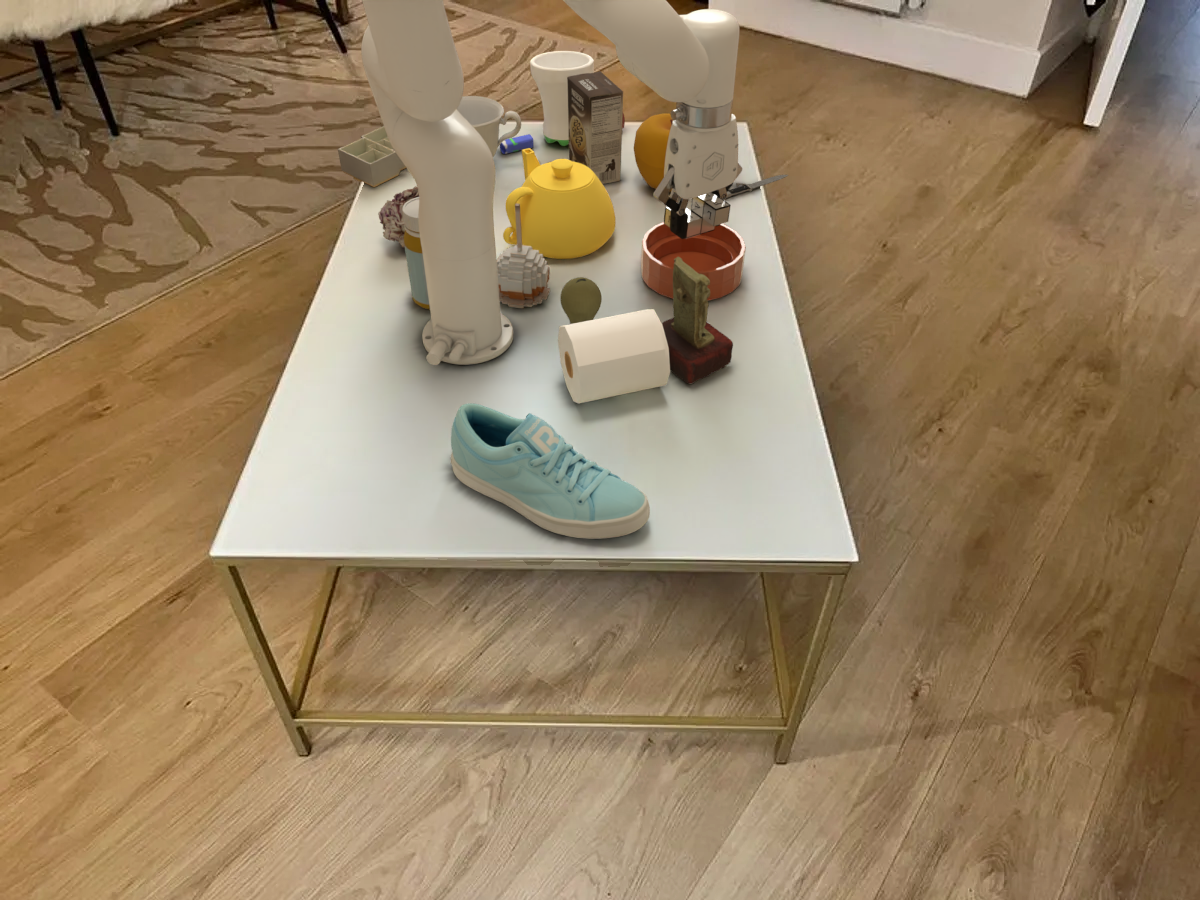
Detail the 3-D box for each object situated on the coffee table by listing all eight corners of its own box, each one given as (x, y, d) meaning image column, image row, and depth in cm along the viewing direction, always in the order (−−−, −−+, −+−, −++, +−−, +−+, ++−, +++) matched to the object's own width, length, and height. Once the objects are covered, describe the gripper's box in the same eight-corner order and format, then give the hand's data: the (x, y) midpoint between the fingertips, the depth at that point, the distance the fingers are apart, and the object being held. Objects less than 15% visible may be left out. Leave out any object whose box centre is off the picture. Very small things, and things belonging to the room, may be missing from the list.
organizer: (331, 147, 174) (336, 170, 177) (369, 165, 169) (373, 188, 172) (457, 90, 190) (459, 112, 193) (494, 105, 186) (496, 127, 189)
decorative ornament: (554, 284, 151) (551, 193, 141) (542, 313, 145) (538, 221, 135) (503, 278, 152) (497, 188, 142) (490, 307, 146) (482, 215, 136)
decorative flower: (487, 203, 160) (397, 175, 160) (475, 200, 150) (380, 170, 150) (469, 267, 162) (380, 238, 162) (457, 268, 152) (362, 238, 152)
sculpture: (735, 365, 136) (747, 271, 126) (690, 388, 133) (698, 293, 122) (688, 331, 142) (695, 238, 132) (643, 352, 138) (647, 258, 128)
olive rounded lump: (579, 324, 143) (578, 264, 136) (609, 339, 141) (610, 278, 134) (553, 342, 140) (551, 281, 133) (583, 358, 138) (583, 297, 131)
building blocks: (725, 238, 146) (692, 214, 151) (730, 204, 142) (696, 181, 147) (696, 247, 143) (663, 223, 148) (701, 213, 140) (666, 190, 145)
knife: (711, 193, 171) (722, 201, 169) (711, 190, 170) (722, 197, 168) (779, 171, 177) (790, 178, 175) (780, 167, 177) (791, 174, 175)
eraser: (503, 155, 181) (499, 149, 182) (534, 148, 183) (529, 142, 184) (503, 145, 180) (499, 140, 181) (534, 138, 182) (529, 133, 183)
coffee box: (567, 165, 178) (565, 75, 167) (600, 158, 180) (600, 69, 169) (588, 188, 172) (588, 96, 161) (622, 180, 174) (624, 90, 163)
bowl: (732, 311, 146) (736, 279, 142) (630, 295, 149) (631, 263, 145) (748, 256, 157) (752, 225, 153) (653, 242, 159) (655, 211, 156)
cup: (532, 150, 181) (528, 70, 172) (535, 128, 189) (531, 51, 181) (594, 150, 181) (593, 69, 172) (594, 128, 189) (593, 50, 181)
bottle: (464, 286, 150) (455, 195, 140) (455, 313, 145) (444, 221, 135) (418, 283, 151) (405, 193, 140) (407, 310, 146) (393, 218, 135)
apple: (641, 161, 179) (643, 99, 171) (713, 170, 177) (718, 108, 169) (624, 196, 170) (625, 132, 162) (699, 206, 168) (704, 141, 160)
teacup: (520, 181, 173) (517, 126, 167) (434, 180, 174) (428, 125, 167) (526, 149, 182) (523, 96, 175) (444, 148, 182) (438, 94, 176)
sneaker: (630, 562, 111) (631, 495, 104) (429, 491, 119) (418, 425, 111) (662, 504, 117) (666, 438, 110) (470, 441, 125) (461, 375, 118)
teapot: (635, 245, 159) (637, 171, 150) (530, 280, 152) (526, 204, 143) (570, 192, 171) (569, 120, 163) (471, 221, 164) (464, 148, 155)
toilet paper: (639, 304, 135) (552, 321, 132) (664, 312, 125) (571, 330, 122) (650, 378, 137) (565, 396, 135) (675, 391, 127) (584, 410, 125)
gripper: (669, 136, 129) (663, 257, 141) (771, 104, 136) (756, 222, 148) (635, 115, 134) (632, 234, 146) (735, 85, 141) (724, 201, 153)
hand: (695, 227), depth 147 cm, fingers closed on building blocks, 5 cm apart
